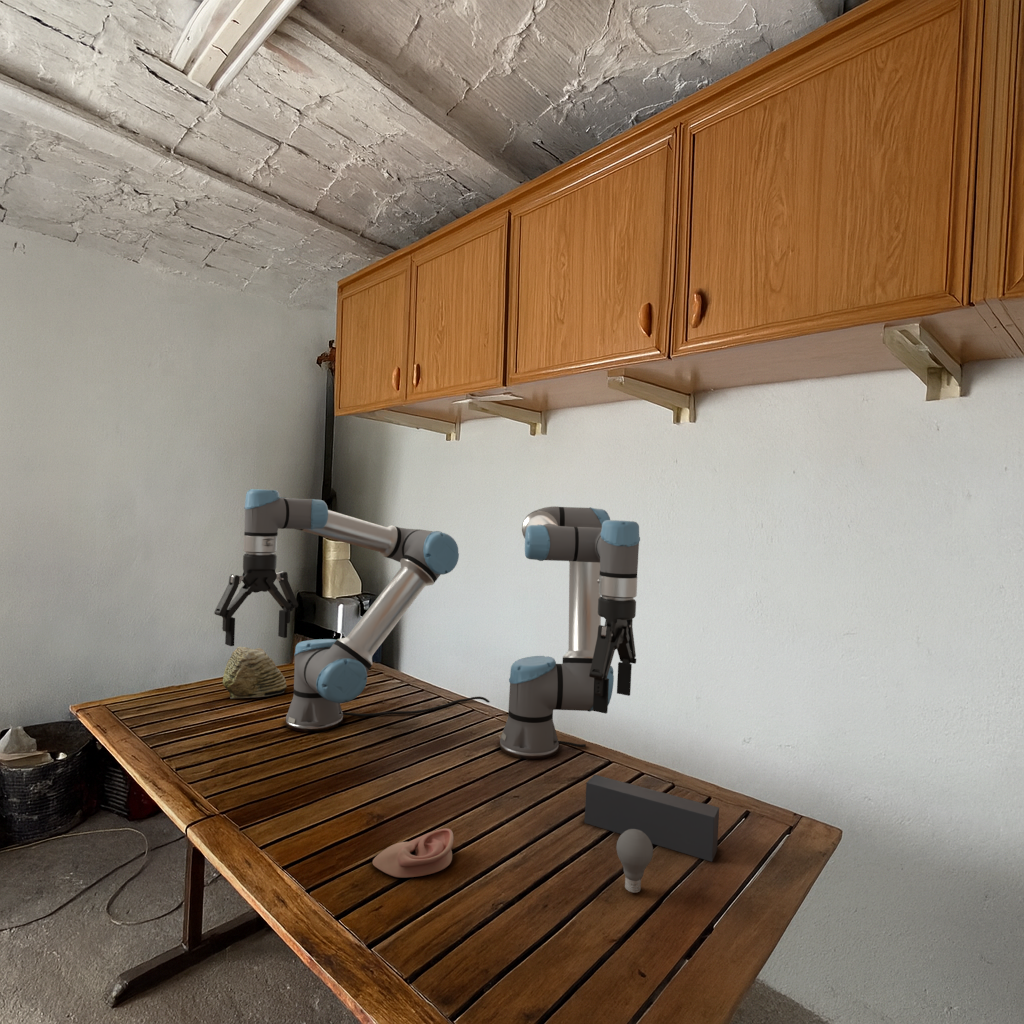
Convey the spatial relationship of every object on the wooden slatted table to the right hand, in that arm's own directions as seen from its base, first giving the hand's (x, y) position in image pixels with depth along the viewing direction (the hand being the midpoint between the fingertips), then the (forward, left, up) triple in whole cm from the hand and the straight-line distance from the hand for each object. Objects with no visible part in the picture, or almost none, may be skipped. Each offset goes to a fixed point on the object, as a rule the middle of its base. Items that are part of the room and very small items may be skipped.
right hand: (612, 702), depth 127 cm
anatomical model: (+40, -2, -25) cm, 47 cm away
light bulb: (+9, +20, -25) cm, 33 cm away
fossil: (+56, -108, -25) cm, 125 cm away
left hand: (+61, -61, +3) cm, 86 cm away
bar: (-5, +7, -25) cm, 26 cm away
